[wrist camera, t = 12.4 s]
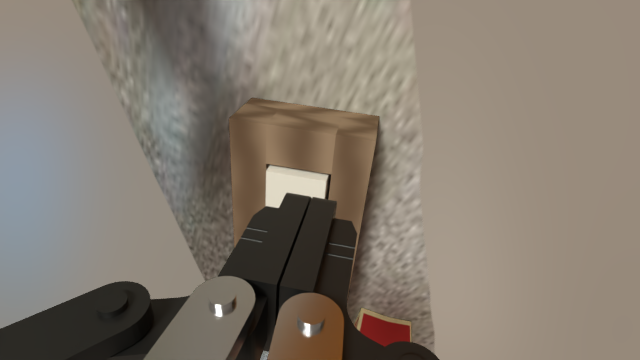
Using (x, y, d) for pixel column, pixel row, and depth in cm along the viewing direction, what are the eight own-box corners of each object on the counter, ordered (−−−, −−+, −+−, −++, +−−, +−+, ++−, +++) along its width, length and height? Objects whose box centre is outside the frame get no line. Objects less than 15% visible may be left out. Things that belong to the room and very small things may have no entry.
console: (253, 280, 55) (237, 315, 50) (251, 97, 41) (229, 118, 35) (346, 299, 54) (340, 337, 48) (379, 116, 39) (376, 141, 34)
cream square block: (275, 199, 43) (265, 220, 39) (277, 153, 40) (265, 171, 36) (327, 209, 42) (320, 230, 39) (332, 162, 39) (326, 181, 36)
